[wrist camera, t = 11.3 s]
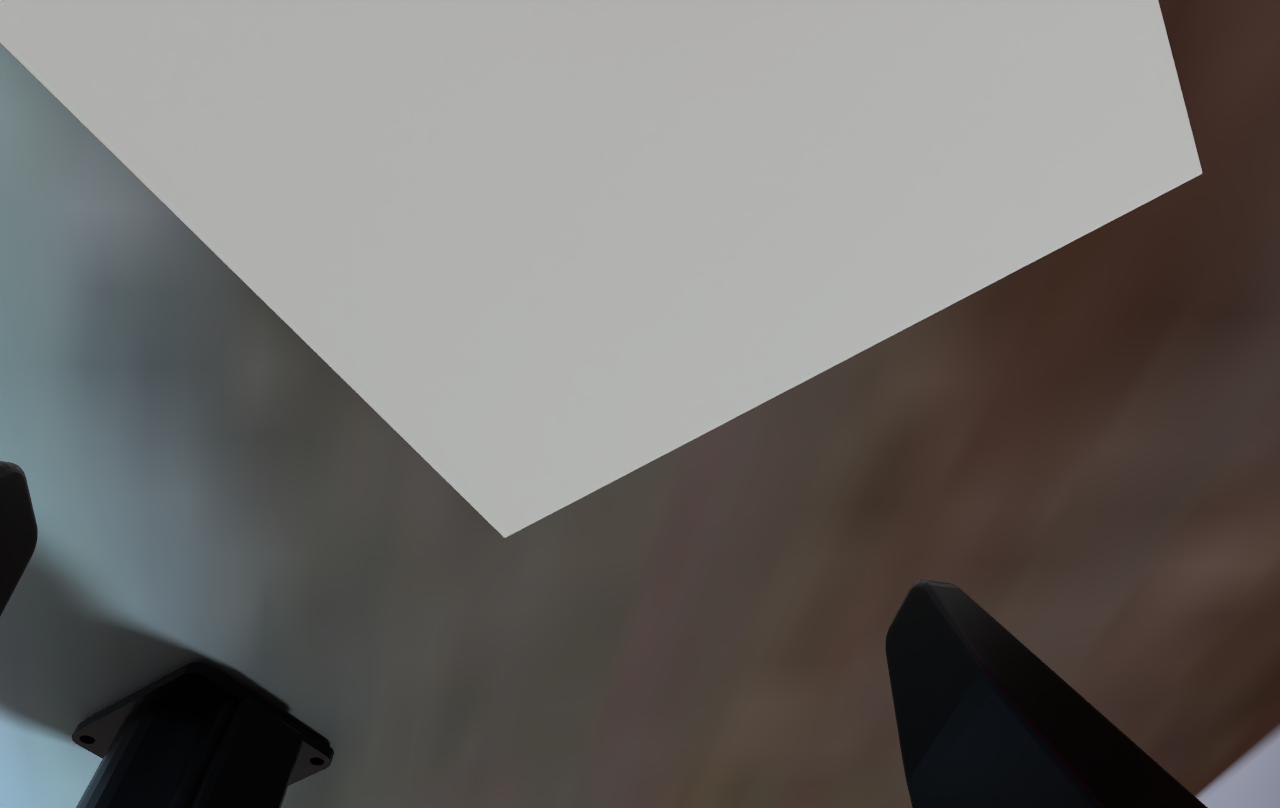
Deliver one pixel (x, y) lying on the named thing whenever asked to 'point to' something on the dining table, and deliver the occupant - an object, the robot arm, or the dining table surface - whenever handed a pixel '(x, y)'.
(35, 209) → the dining table surface
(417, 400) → the grey mat
